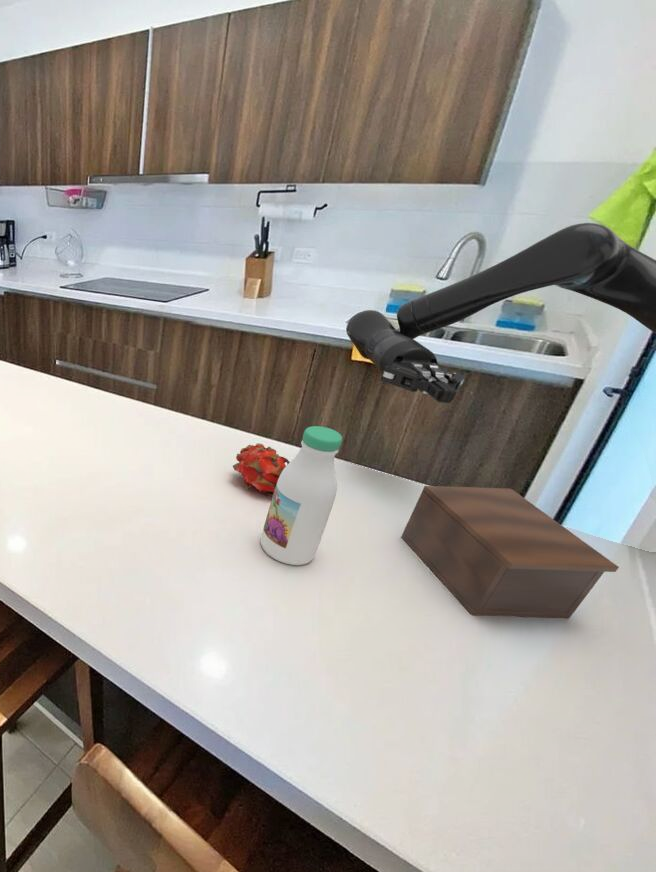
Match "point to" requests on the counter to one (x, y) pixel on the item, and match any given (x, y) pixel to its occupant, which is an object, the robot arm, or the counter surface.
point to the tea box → (490, 570)
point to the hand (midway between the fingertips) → (448, 397)
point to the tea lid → (517, 530)
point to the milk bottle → (303, 499)
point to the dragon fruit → (260, 467)
